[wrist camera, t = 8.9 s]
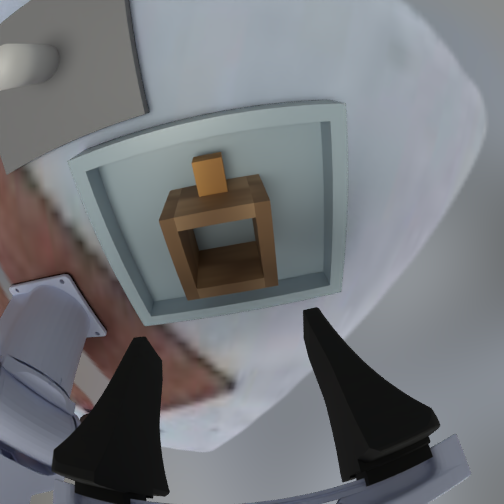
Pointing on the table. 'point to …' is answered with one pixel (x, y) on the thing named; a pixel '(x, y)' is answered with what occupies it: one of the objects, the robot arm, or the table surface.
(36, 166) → the table surface
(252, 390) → the table surface
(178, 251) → the walnut collar
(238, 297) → the pale green tray
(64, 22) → the post board
